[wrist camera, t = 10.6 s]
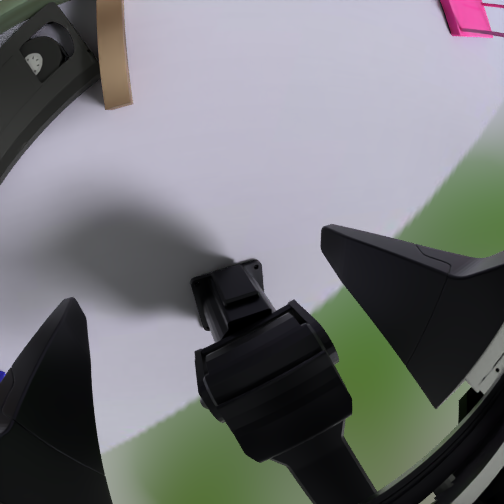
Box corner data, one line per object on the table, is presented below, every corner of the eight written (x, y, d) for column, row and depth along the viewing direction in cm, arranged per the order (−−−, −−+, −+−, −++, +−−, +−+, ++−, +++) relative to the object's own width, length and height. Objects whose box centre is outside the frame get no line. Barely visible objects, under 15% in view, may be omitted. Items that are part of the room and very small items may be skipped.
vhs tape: (59, 7, 9) (52, -1, 7) (107, 73, 13) (103, 69, 12) (-56, 146, 9) (-69, 151, 7) (-14, 208, 13) (-25, 218, 12)
